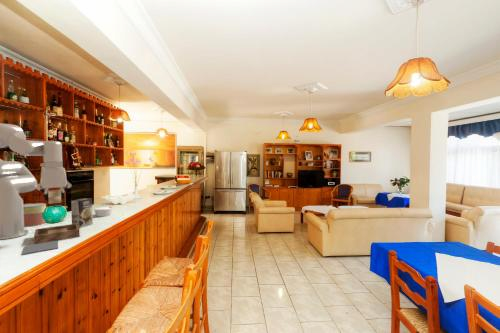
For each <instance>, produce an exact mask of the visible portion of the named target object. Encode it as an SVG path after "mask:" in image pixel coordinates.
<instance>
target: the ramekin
mask: <svg viewBox="0 0 500 333" xmlns="http://www.w3.org/2000/svg"><path fill="white" fill-rule="evenodd" d="M93 210H94V214H95V216H96V217H97V218H102V217H109V216H111V215H112V212H113V206H100V207H99V206H98V207H95V208H94V209H93Z"/></svg>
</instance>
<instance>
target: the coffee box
mask: <svg viewBox="0 0 500 333" xmlns="http://www.w3.org/2000/svg"><path fill="white" fill-rule="evenodd" d="M93 220H94V218H93V198H91V197H90V198H87V197H85V198H78V199H73V200H71V224H77V223H78V226H79V229H81V228H84V227H87V226H90V225H93V223H94V222H93Z"/></svg>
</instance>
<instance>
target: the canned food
mask: <svg viewBox="0 0 500 333" xmlns="http://www.w3.org/2000/svg"><path fill="white" fill-rule="evenodd" d="M45 208H46V209H47V203H43V202H40V203H39V202H38V203H30V204H28V203H27V204H23V209H24V228H25V227H27V228H28V227H31V228H32V227H38V225H39V226H43V225H45V221H44V219H43V217H42V213H43V212H44V210H45ZM42 224H43V225H42Z"/></svg>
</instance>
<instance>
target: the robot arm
mask: <svg viewBox="0 0 500 333" xmlns="http://www.w3.org/2000/svg"><path fill="white" fill-rule="evenodd" d="M3 148H9V149H10V150H11V151H13V152H14V153H17V154H20V155H23V156H28V157H29V156H30V157H31V156H34V157H35V156H37V157H39V156H40V157H41V156H43V163H39V165H40V167H43V168H41V174H40V176H41V177H40V182H39V183H38V180H37V179H36V177H35V176H34V175H33V174H32V172H31V171H30V170H29V169H28V167H27V166H25V164H23V163H22V162H19V161H18V160H17V161H15V160H11V161H10V160H9V161H7V160H3V159H1V158H0V240H8V239H9V240H10V239H14V238H20V237H22V236H26V235H28V234H29V230H27V229H25V227H24V209H23V205H24V200H23V198H22V197H21V195H20V194H22V193H29V192H32V191H35V190H37V191H39V192H41V193H43V194H44V200H45V201H46V202H47V203H49V197H48V191H49V189H55V188H57V189H59V188H60V189H59V190H61V202H63V200H64V199H65V193H66V191H68V189H70V188H72V186H73V185H72V183H70V182H69V181H68V179H67V172H66V168H65V167H64V165H63V144H62V142H60V141H57V140H45V141H44V140H28V139H27V136H26V134H25V131H24V130H23V128H22V127H20V126H19V125H16V124H11V123H1V122H0V149H3Z"/></svg>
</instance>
